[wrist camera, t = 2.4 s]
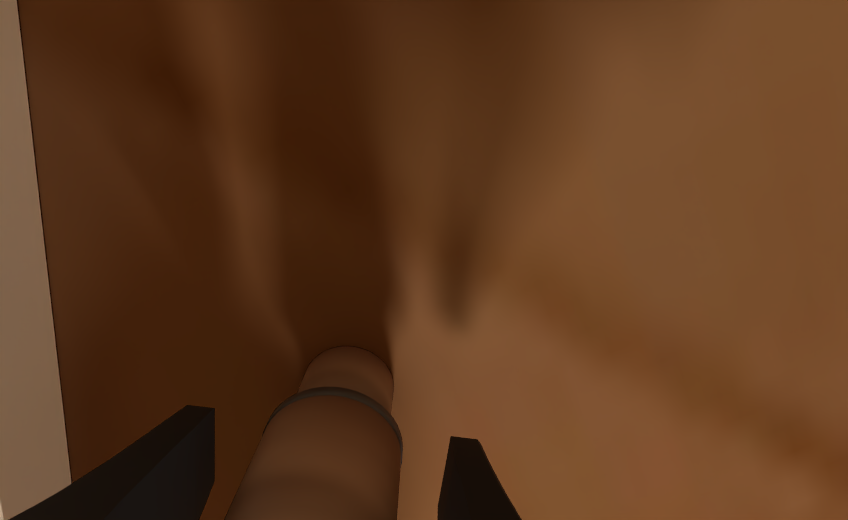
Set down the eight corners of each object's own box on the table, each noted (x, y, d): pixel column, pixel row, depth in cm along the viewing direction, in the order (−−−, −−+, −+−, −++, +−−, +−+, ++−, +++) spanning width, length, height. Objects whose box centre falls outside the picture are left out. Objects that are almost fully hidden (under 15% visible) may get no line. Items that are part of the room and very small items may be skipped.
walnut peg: (399, 440, 15) (371, 796, 8) (287, 427, 15) (149, 775, 8) (413, 342, 14) (396, 645, 7) (293, 327, 14) (139, 618, 7)
